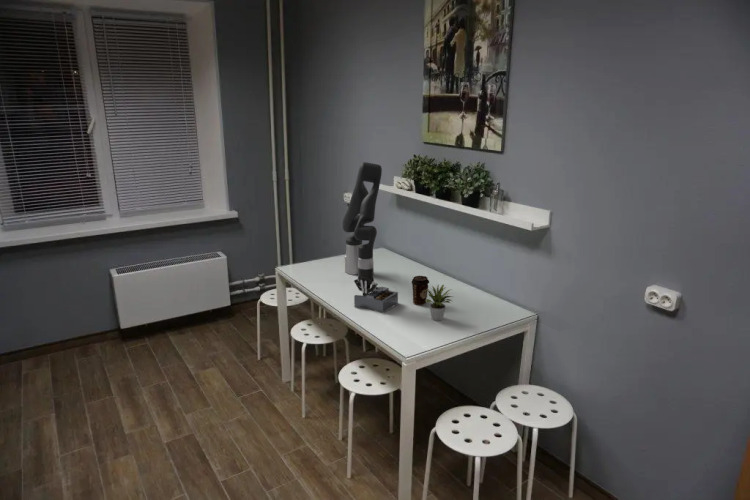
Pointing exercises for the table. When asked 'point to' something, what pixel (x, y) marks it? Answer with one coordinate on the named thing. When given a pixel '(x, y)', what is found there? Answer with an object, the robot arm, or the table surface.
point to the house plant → (438, 303)
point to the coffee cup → (420, 289)
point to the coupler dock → (377, 300)
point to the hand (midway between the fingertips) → (365, 299)
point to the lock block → (382, 296)
